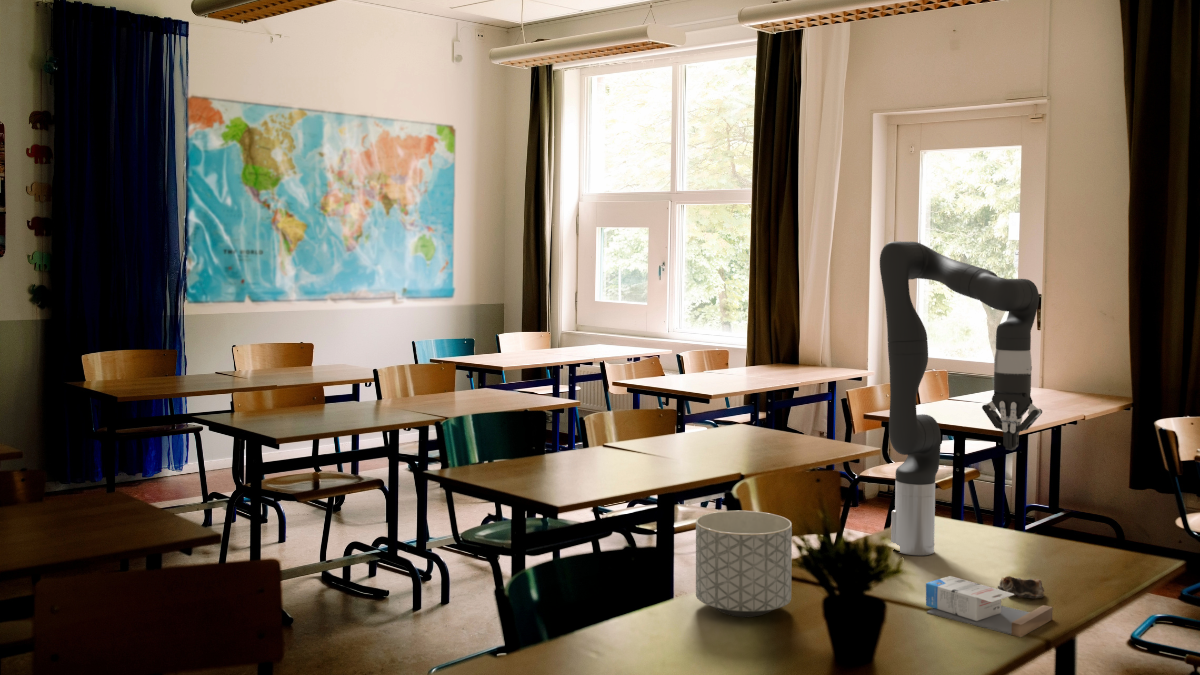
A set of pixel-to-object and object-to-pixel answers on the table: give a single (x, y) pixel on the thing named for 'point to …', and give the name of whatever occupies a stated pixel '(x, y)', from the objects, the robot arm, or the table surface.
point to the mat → (988, 619)
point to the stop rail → (1031, 621)
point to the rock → (1022, 587)
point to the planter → (743, 562)
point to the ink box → (964, 598)
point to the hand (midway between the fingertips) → (1010, 449)
